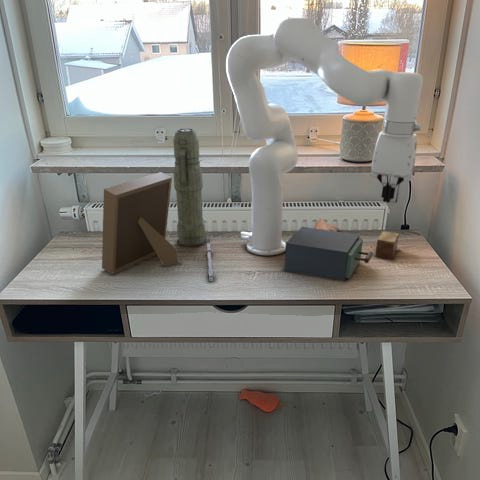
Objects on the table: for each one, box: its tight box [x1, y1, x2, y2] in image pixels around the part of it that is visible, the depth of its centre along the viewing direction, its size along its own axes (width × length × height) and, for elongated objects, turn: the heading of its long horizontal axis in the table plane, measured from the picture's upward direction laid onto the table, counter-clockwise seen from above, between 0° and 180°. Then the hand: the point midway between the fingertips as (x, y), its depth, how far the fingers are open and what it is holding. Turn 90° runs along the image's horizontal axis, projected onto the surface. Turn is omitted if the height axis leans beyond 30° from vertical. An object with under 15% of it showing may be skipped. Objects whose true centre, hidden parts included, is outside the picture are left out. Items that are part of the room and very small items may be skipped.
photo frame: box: [101, 171, 179, 275], centre depth 149 cm, size 15×22×25 cm
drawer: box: [345, 237, 374, 279], centre depth 150 cm, size 21×13×7 cm, turn 66°
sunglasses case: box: [314, 218, 340, 232], centre depth 172 cm, size 18×7×7 cm, turn 170°
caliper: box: [206, 235, 214, 282], centre depth 152 cm, size 20×1×6 cm, turn 5°
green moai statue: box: [172, 128, 206, 247], centre depth 163 cm, size 9×12×35 cm
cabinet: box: [284, 226, 360, 282], centre depth 151 cm, size 18×15×9 cm
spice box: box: [375, 231, 400, 260], centre depth 160 cm, size 5×8×6 cm, turn 156°
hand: (387, 200), depth 137 cm, fingers closed
